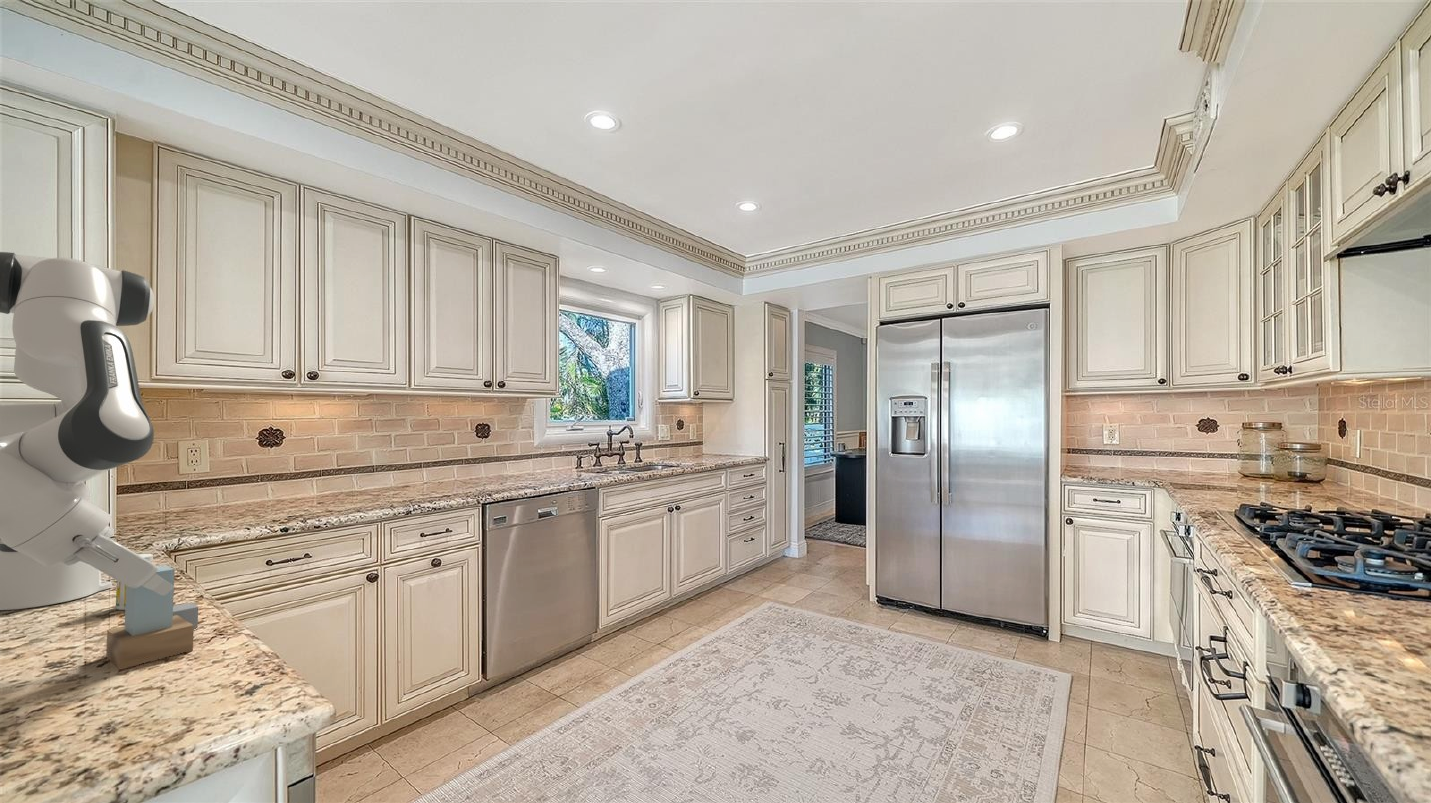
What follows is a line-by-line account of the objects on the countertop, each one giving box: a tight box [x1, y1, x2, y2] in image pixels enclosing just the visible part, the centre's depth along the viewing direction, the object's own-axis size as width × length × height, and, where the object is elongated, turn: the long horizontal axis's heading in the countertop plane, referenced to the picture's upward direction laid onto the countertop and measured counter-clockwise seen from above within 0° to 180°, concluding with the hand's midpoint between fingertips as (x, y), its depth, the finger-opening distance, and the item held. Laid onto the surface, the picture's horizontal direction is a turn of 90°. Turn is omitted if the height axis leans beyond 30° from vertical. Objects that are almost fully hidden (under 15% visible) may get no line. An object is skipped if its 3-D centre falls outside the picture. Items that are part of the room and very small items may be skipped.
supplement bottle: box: [115, 553, 154, 611], centre depth 109 cm, size 5×5×10 cm
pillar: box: [123, 564, 176, 636], centre depth 87 cm, size 4×4×9 cm
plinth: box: [105, 615, 195, 670], centre depth 87 cm, size 8×8×4 cm
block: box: [173, 602, 199, 629], centre depth 97 cm, size 4×4×4 cm
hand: (158, 585), depth 88 cm, fingers open, 8 cm apart
